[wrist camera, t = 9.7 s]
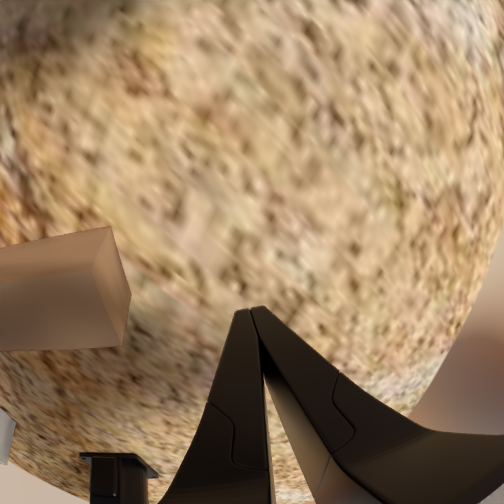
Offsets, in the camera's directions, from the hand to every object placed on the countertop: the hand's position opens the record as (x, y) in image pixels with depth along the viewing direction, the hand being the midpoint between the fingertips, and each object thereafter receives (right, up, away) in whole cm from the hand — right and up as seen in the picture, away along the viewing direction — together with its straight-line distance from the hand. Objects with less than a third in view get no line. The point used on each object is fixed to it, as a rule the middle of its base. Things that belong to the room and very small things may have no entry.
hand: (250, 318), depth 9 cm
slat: (-13, +1, +3) cm, 13 cm away
